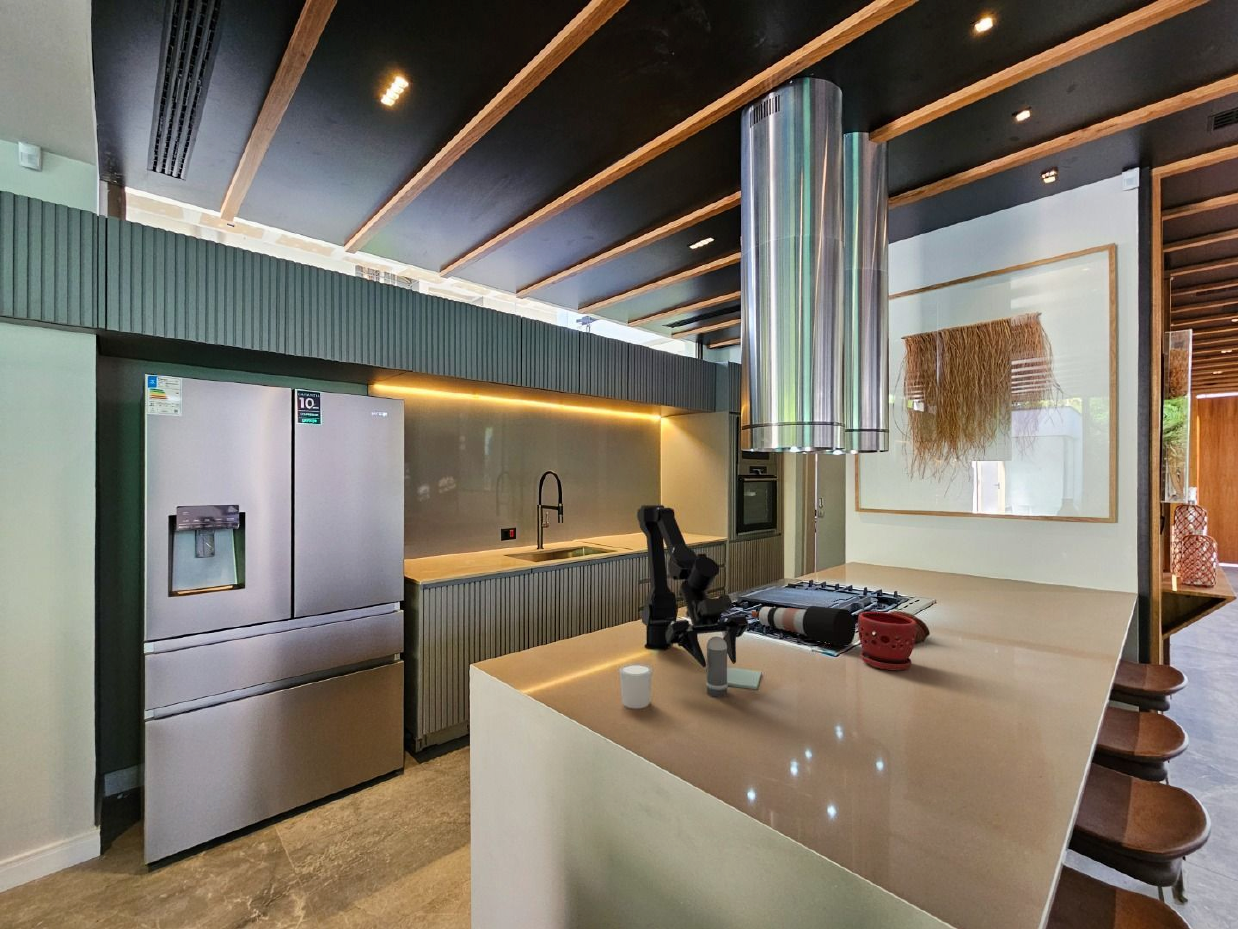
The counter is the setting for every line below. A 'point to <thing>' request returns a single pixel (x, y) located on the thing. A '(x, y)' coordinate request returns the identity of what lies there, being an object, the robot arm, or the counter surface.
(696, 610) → the robot arm
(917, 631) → the pastry
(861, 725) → the counter surface
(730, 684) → the coaster
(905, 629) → the plant pot
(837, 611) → the striped bottle
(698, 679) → the counter surface
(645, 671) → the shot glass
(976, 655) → the counter surface
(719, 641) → the cylinder
